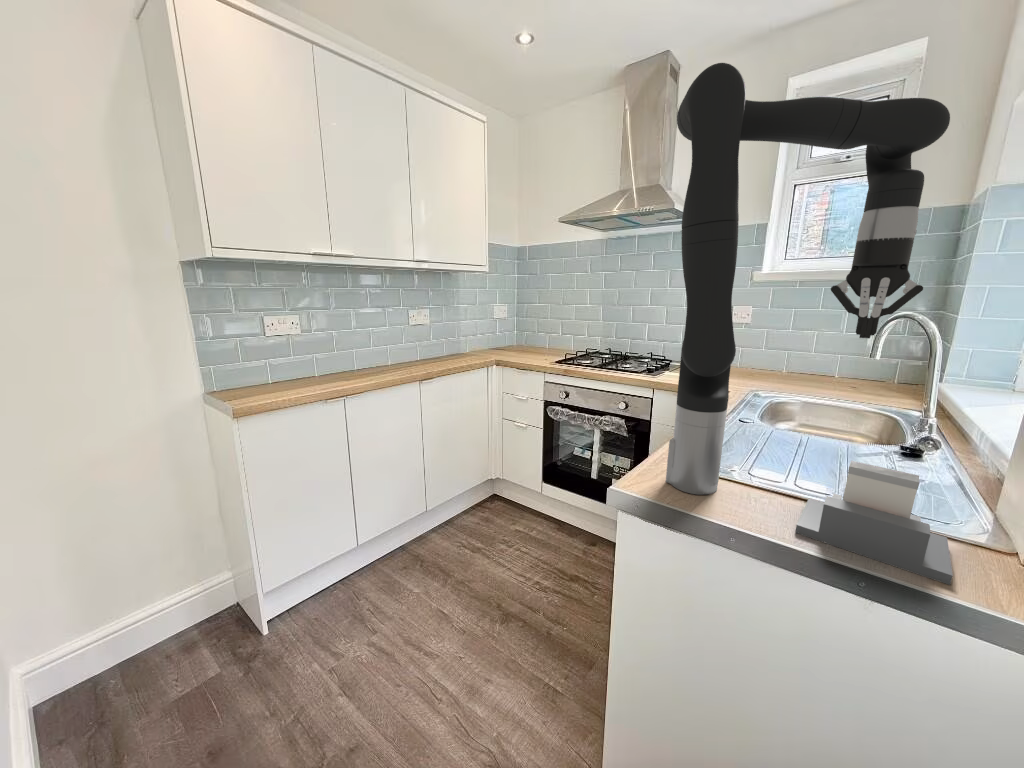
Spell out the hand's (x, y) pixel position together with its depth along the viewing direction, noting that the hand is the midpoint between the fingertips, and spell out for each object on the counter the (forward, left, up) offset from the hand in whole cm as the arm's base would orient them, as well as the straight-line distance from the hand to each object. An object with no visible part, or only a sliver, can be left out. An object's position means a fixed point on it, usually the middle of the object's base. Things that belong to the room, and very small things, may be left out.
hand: (865, 337), depth 75 cm
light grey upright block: (+6, -16, -29) cm, 34 cm away
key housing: (+6, -16, -31) cm, 35 cm away
